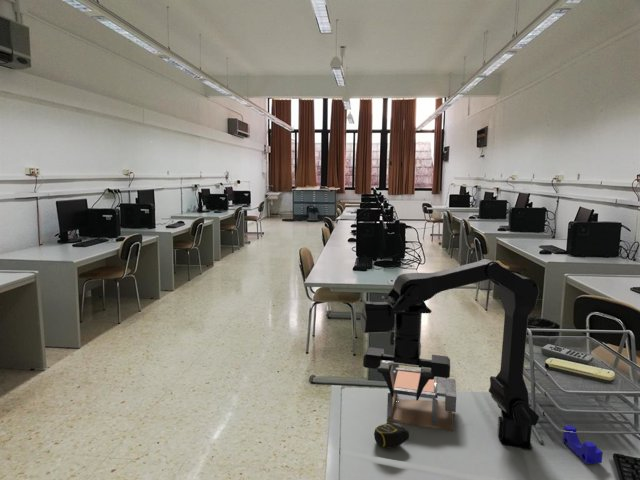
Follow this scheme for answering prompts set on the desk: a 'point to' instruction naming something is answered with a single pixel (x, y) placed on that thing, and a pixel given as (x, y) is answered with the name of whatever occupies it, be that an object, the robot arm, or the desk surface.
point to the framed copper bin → (418, 408)
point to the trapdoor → (430, 387)
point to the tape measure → (390, 435)
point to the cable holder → (582, 447)
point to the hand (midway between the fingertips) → (404, 397)
